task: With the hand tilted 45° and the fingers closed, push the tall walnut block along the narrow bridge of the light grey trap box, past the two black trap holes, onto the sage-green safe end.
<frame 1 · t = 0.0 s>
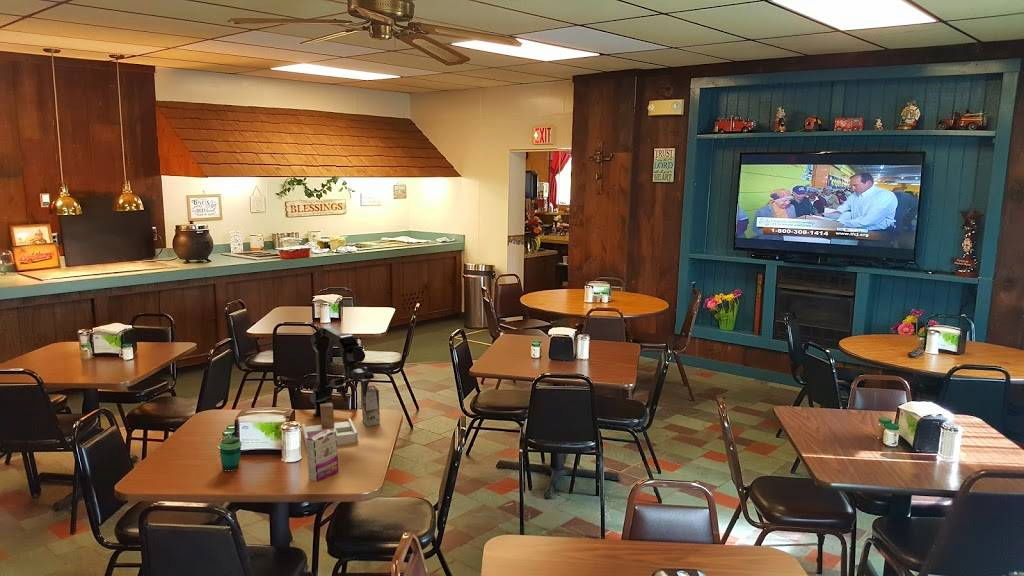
hand: (355, 398, 315), 15 cm above the table, tool pointing down, fingers open, 9 cm apart
cup: (232, 470, 280), on the table
candy bar box: (323, 476, 273), on the table
trap box: (329, 437, 313), on the table
block: (327, 426, 318), point 2 cm above the table, touching trap box
coffee box: (371, 422, 331), on the table
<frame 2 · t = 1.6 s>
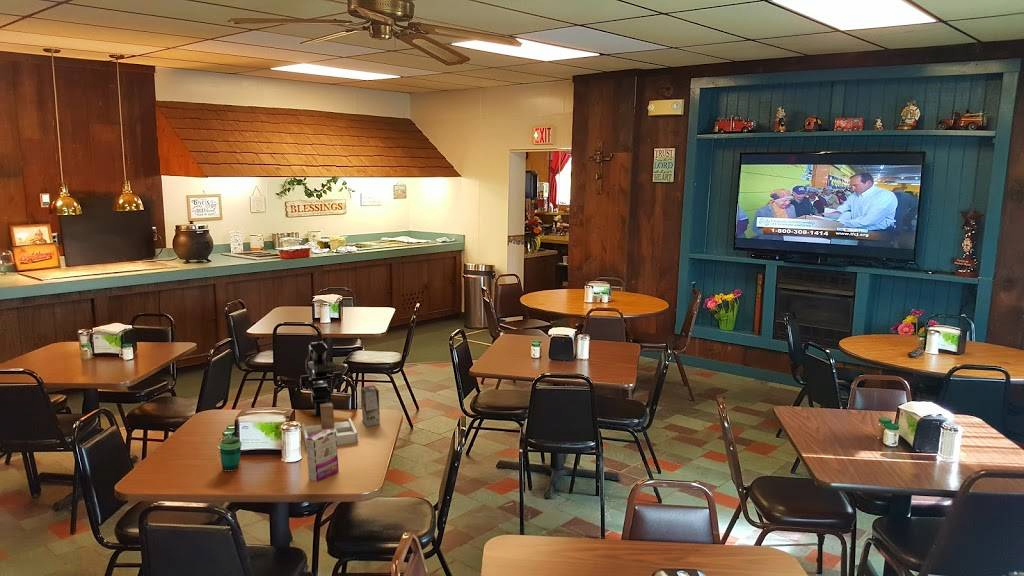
hand: (323, 395, 328), 13 cm above the table, tool tilted 45°, fingers open, 7 cm apart
nothing on the table moved.
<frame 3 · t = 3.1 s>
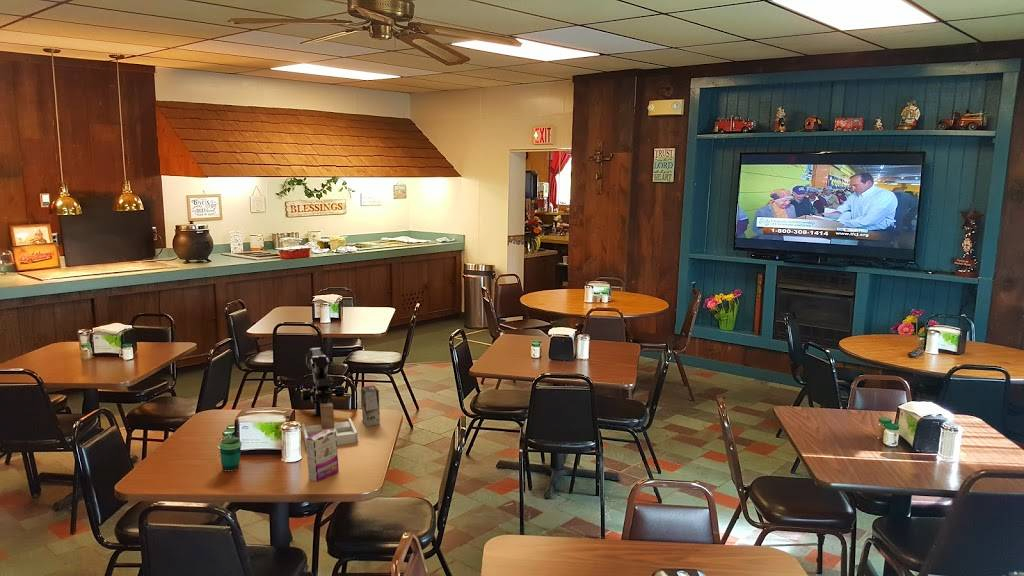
hand: (325, 409, 324), 8 cm above the table, tool tilted 45°, fingers closed
nothing on the table moved.
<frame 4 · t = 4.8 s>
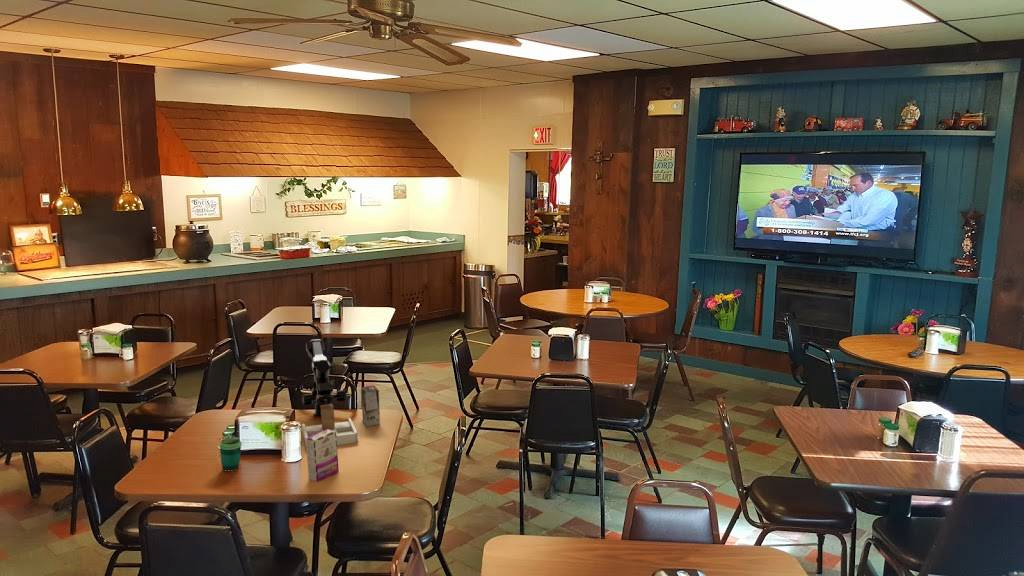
hand: (326, 414, 319), 8 cm above the table, tool tilted 45°, fingers closed
block: (328, 428, 317), point 3 cm above the table
everything else where it was.
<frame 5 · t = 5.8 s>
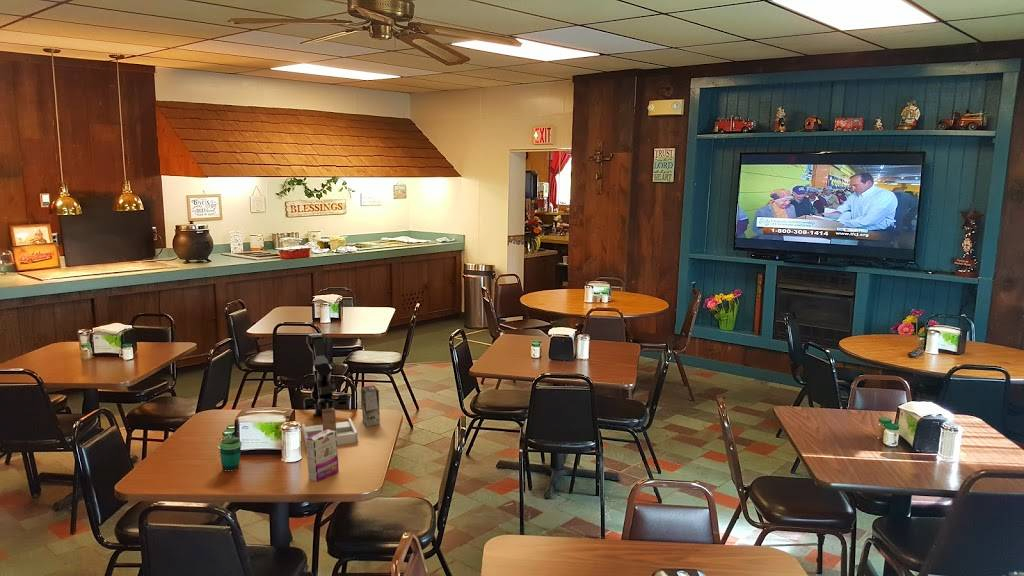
hand: (328, 418, 313), 8 cm above the table, tool tilted 45°, fingers closed, pressing on block
block: (329, 432, 311), point 2 cm above the table, touching gripper, trap box
everything else where it was.
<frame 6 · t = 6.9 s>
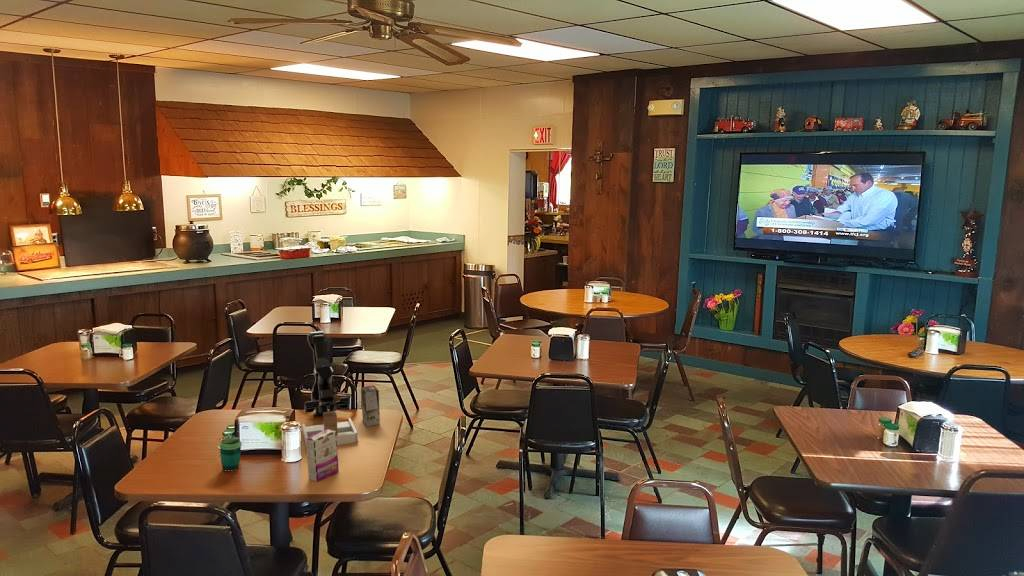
hand: (329, 422, 309), 8 cm above the table, tool tilted 45°, fingers closed, pressing on block
block: (331, 436, 307), point 2 cm above the table, touching gripper, trap box
everything else where it was.
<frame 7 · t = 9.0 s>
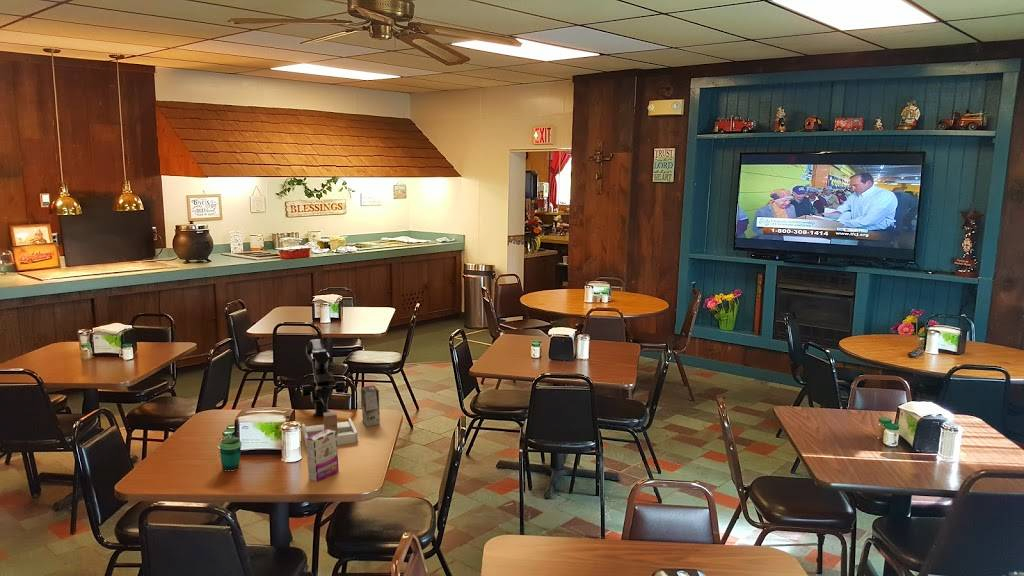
hand: (325, 405, 321), 11 cm above the table, tool tilted 45°, fingers closed
block: (331, 436, 307), point 2 cm above the table, touching trap box
everything else where it was.
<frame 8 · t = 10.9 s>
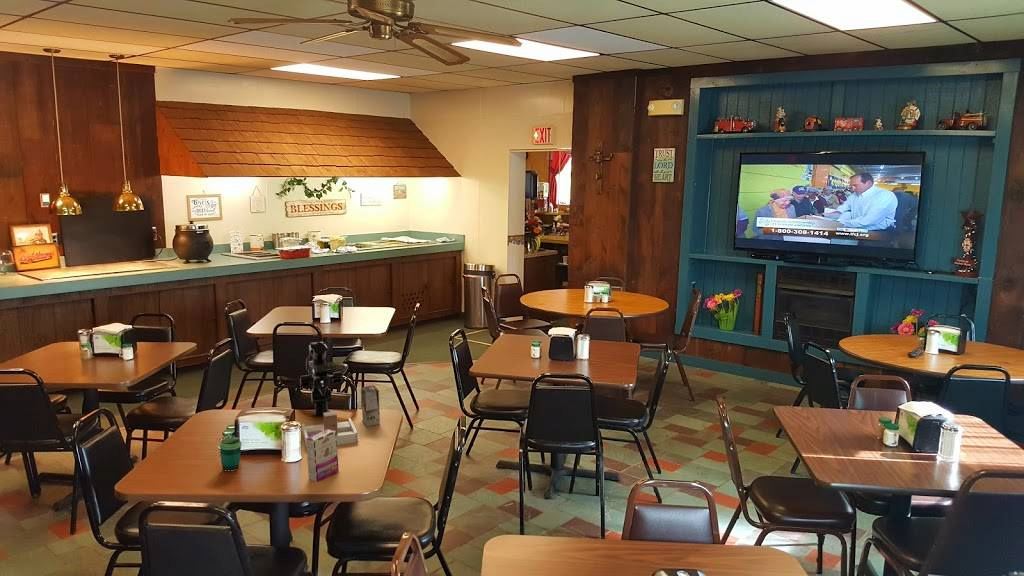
hand: (323, 395, 327), 14 cm above the table, tool tilted 45°, fingers closed
nothing on the table moved.
at the end: block 0.5 cm from the target spot, point 2.5 cm above the table; block tilted 0° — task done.
